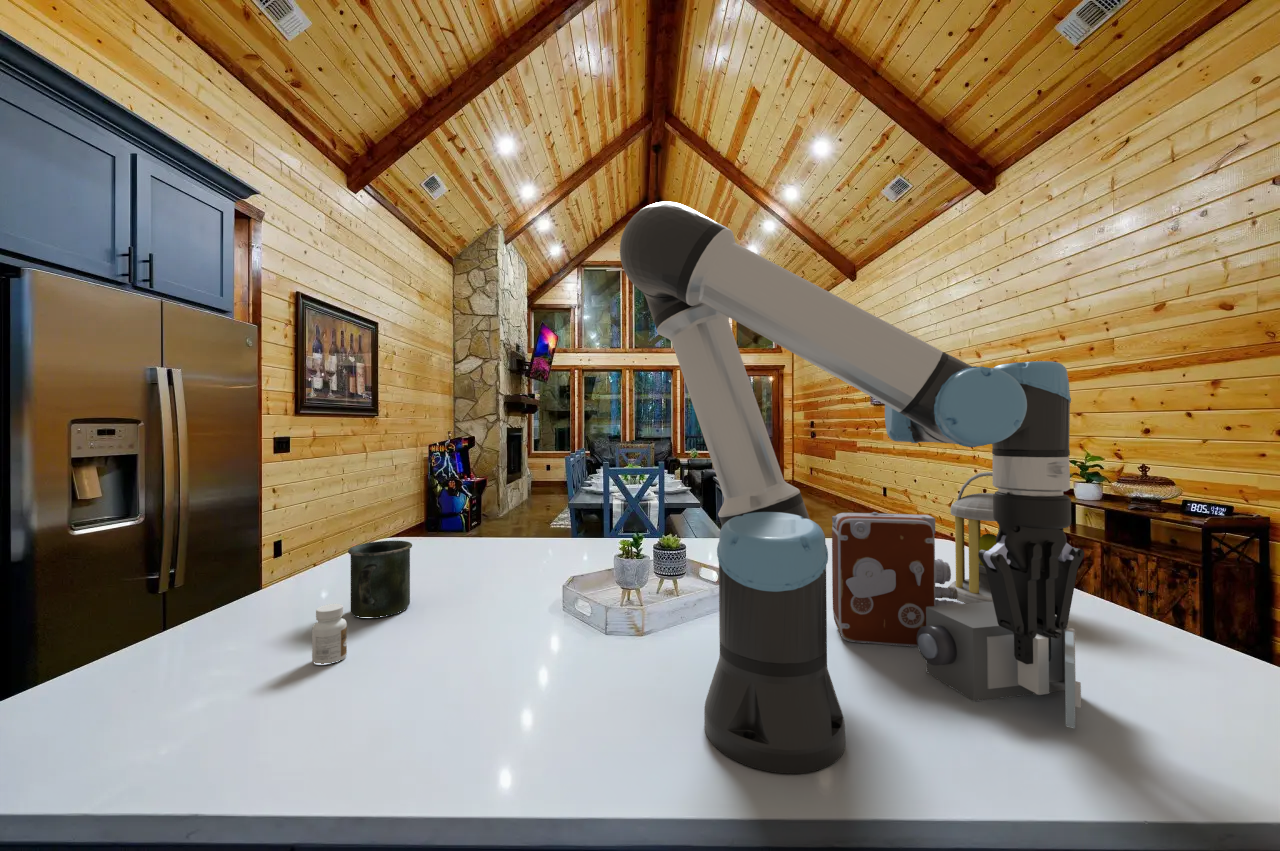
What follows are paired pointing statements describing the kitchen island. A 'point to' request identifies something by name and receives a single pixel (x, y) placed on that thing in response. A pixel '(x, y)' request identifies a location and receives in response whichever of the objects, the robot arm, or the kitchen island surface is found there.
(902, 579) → the cine camera
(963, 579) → the lantern
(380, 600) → the mug
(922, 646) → the camera block
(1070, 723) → the side door
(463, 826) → the kitchen island surface
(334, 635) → the pill bottle
